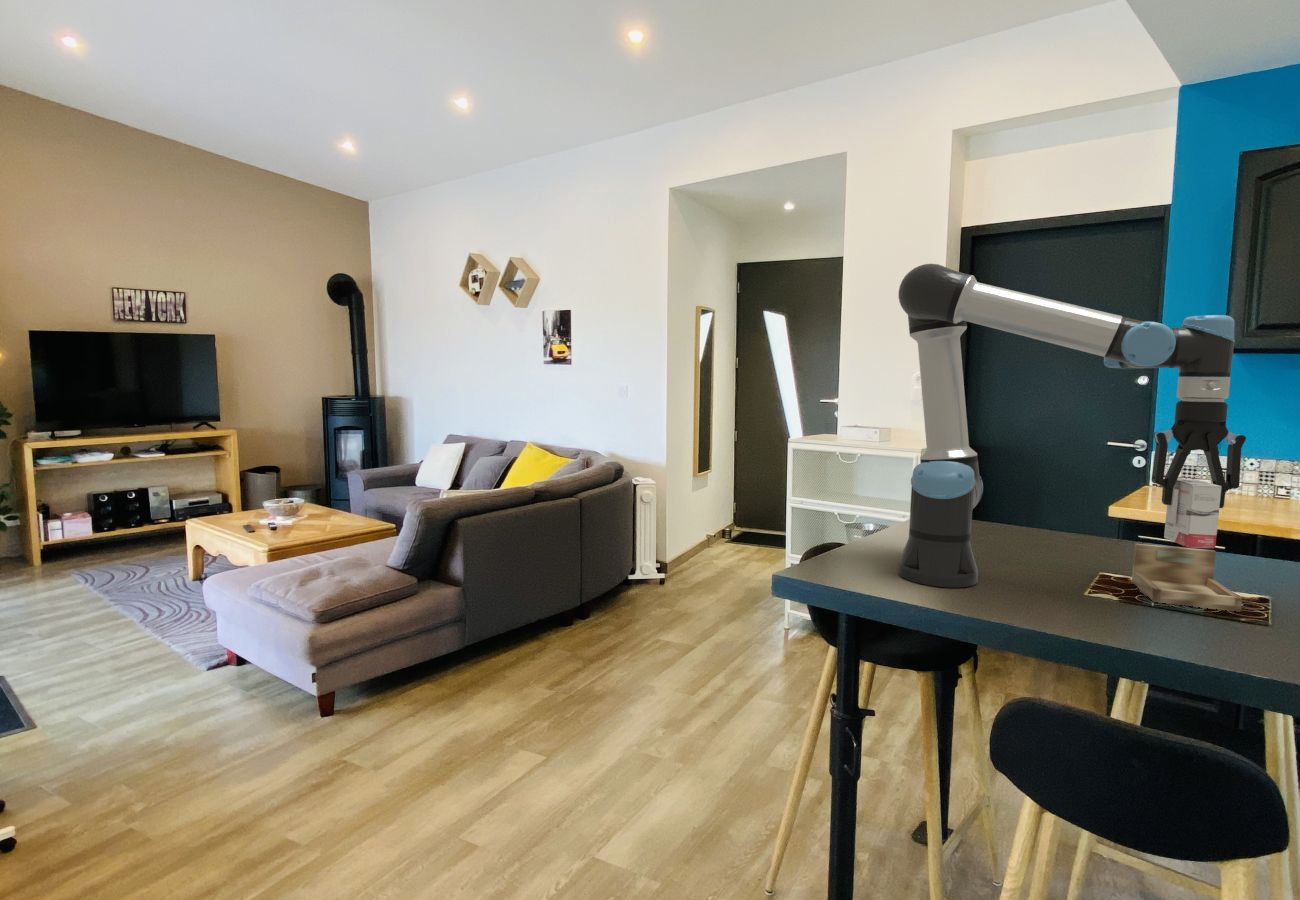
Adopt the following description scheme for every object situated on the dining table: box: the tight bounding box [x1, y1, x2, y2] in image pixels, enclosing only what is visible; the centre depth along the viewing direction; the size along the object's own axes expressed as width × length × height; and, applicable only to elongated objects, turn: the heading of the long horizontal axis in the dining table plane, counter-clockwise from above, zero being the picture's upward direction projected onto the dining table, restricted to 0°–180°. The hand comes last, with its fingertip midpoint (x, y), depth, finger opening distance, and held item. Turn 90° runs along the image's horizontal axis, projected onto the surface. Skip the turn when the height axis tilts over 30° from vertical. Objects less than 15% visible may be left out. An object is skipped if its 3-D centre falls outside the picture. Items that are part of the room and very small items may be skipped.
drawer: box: [1131, 543, 1243, 613], centre depth 130 cm, size 13×14×8 cm
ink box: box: [1163, 477, 1222, 549], centre depth 128 cm, size 9×5×12 cm, turn 167°
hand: (1190, 523), depth 128 cm, fingers closed on ink box, 5 cm apart
